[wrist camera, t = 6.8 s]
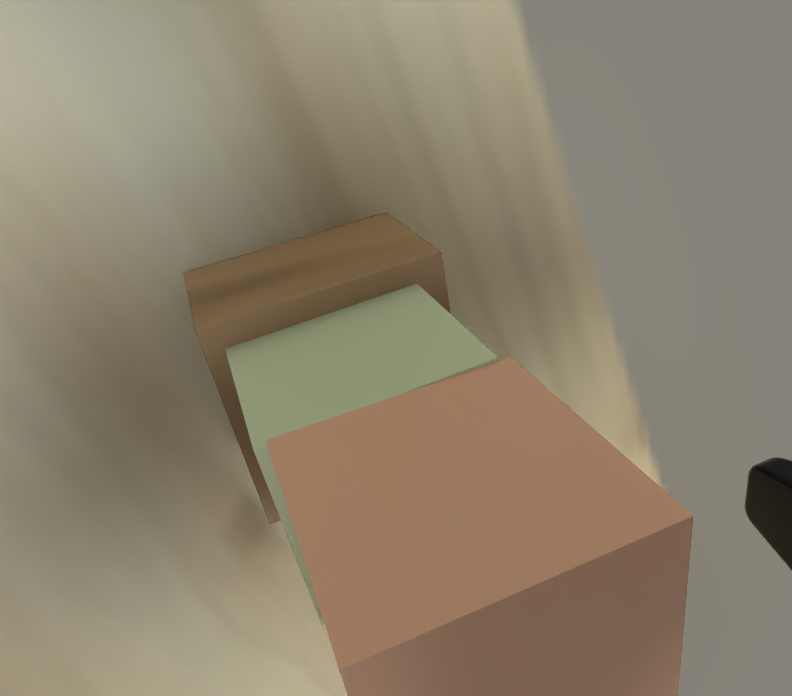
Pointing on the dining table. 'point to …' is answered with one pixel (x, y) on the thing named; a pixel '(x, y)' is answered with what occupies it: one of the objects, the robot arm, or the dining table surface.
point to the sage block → (345, 371)
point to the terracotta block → (486, 545)
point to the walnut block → (301, 296)
